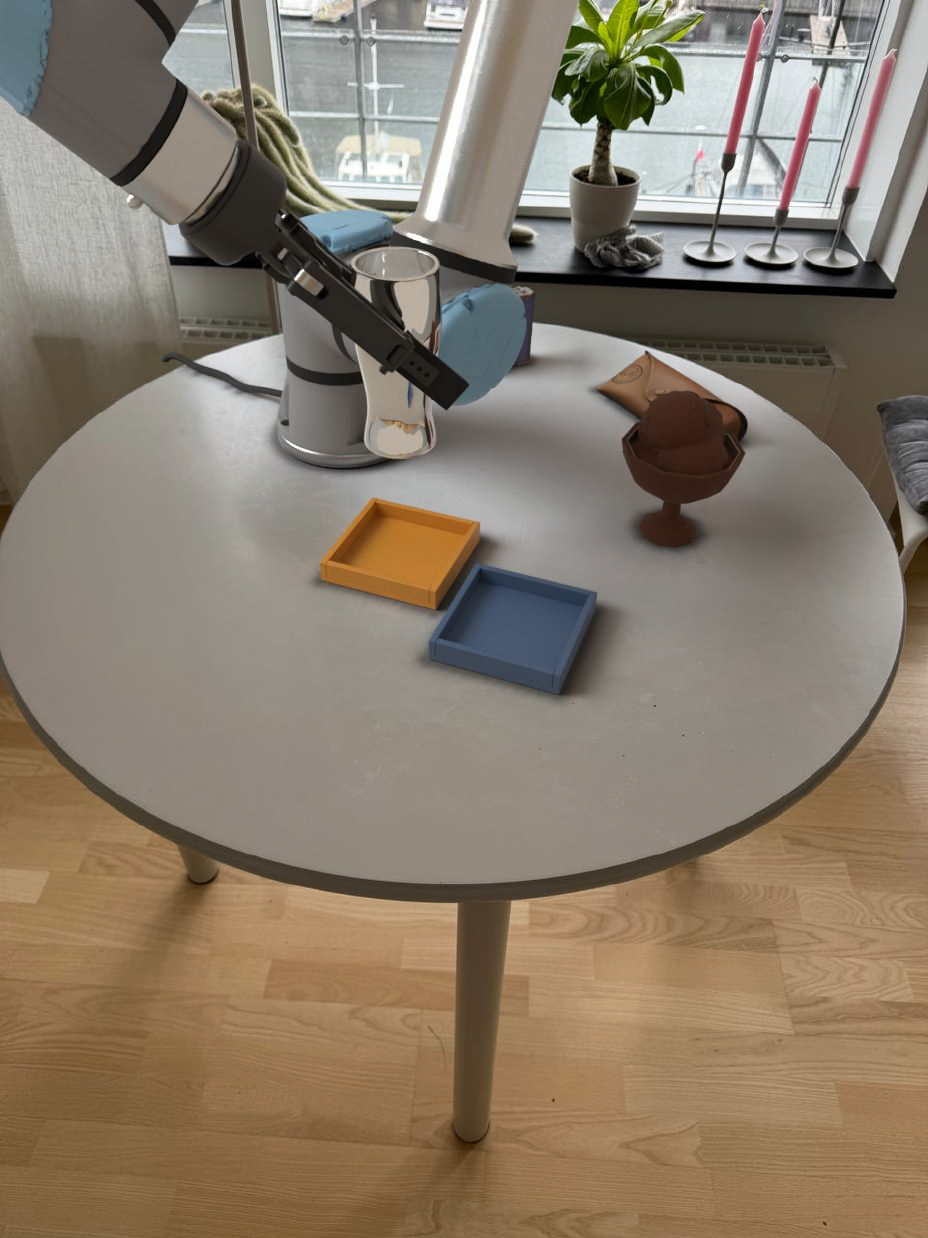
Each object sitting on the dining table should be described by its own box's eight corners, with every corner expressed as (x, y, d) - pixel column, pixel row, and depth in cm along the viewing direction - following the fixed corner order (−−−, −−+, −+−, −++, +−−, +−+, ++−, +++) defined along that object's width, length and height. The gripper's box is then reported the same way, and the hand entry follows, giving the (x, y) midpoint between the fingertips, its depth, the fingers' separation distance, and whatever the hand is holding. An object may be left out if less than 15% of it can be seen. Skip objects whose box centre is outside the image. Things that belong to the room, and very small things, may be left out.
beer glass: (358, 421, 83) (347, 245, 74) (438, 418, 84) (439, 244, 74) (358, 463, 78) (347, 281, 68) (444, 461, 79) (445, 279, 69)
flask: (471, 378, 118) (474, 291, 111) (459, 368, 119) (461, 283, 112) (534, 361, 121) (540, 277, 114) (522, 352, 123) (527, 269, 116)
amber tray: (321, 580, 87) (319, 562, 86) (373, 514, 95) (372, 497, 94) (435, 610, 84) (435, 591, 83) (479, 540, 92) (480, 522, 91)
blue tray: (428, 659, 80) (428, 640, 78) (475, 580, 88) (476, 562, 86) (558, 695, 77) (560, 676, 75) (595, 610, 85) (597, 592, 83)
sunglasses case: (589, 386, 115) (617, 335, 113) (625, 401, 120) (653, 352, 117) (689, 456, 104) (723, 400, 101) (725, 470, 108) (758, 417, 106)
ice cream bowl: (725, 570, 89) (760, 427, 80) (605, 554, 91) (624, 412, 81) (725, 507, 97) (757, 369, 87) (614, 493, 99) (633, 356, 89)
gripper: (155, 183, 71) (375, 357, 86) (196, 283, 57) (450, 470, 72) (216, 99, 69) (431, 292, 84) (274, 181, 55) (519, 395, 70)
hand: (440, 374), depth 78 cm, fingers closed on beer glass, 7 cm apart
